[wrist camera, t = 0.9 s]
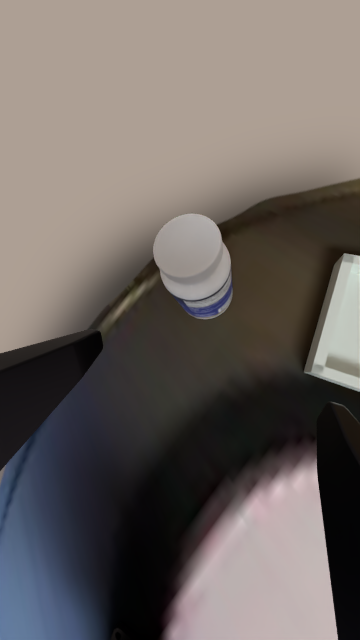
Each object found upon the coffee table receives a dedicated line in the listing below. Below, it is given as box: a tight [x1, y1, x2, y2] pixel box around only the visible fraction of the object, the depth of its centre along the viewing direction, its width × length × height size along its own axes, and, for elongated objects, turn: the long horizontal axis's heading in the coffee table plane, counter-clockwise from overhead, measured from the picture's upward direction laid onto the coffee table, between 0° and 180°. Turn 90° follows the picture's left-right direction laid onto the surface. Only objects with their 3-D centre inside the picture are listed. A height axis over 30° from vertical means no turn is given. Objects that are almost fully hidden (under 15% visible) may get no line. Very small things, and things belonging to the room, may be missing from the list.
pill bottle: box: [153, 214, 233, 319], centre depth 18 cm, size 6×6×10 cm
